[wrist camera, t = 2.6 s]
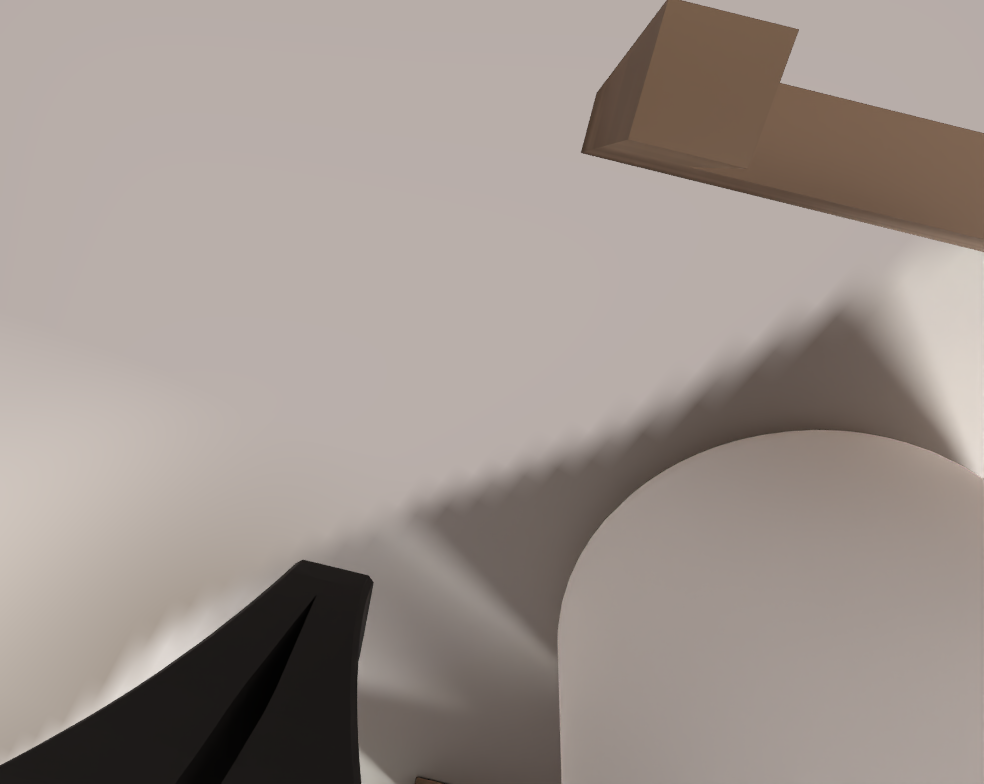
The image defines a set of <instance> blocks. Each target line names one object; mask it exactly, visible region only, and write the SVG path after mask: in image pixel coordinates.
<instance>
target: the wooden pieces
mask: <svg viewBox="0 0 984 784" xmlns="http://www.w3.org/2000/svg"><path fill="white" fill-rule="evenodd" d="M798 31H799V29H795V28H790V27H786V26H782V25H778V24H775V23H770V22H766V21H762V20H758V19H754V18H750V17H746V16H742V15H738V14H734V13H730V12H726V11H722V10H718V9H714V8H710V7H706V6H701V5H698V4H693V3H690V2H686V1H682V0H667V1H666V2H665V3H664V5H663V6H662V7H661V9H660V10H659V11H658V13H657V14H656V15H655V17H654V18H653V19H652V21H651V22H650V23H649V25H648V26H647V27H646V29H645V30H644V31H643V33H642V34H641V35H640V37H639V38H638V39H637V41H636V42H635V43H634V45H633V46H632V47H631V48H630V50H629V51H628V52H627V54H626V55H625V56H624V58H623V59H622V60H621V62H620V63H619V64H618V66H617V67H616V68H615V70H614V71H613V72H612V74H611V75H610V76H609V78H608V79H607V80H606V82H605V83H604V84H603V86H602V87H601V88H600V89H599V91H598V92H597V94H596V98H595V102H594V105H593V109H592V113H591V117H590V121H589V124H588V128H587V132H586V136H585V140H584V143H583V147H582V151H581V153H584V154H588V155H592V156H596V157H600V158H604V159H608V160H612V161H616V162H620V163H624V164H628V165H632V166H637V167H641V168H645V169H649V170H653V171H657V172H661V173H665V174H669V175H673V176H677V177H681V178H685V179H689V180H693V181H698V182H702V183H706V184H710V185H714V186H718V187H722V188H726V189H730V190H734V191H738V192H743V193H747V194H751V195H755V196H759V197H763V198H767V199H771V200H775V201H779V202H783V203H787V204H791V205H795V206H799V207H803V208H807V209H811V210H815V211H820V212H824V213H828V214H832V215H836V216H840V217H844V218H848V219H852V220H857V221H860V222H864V223H868V224H872V225H877V226H881V227H885V228H889V229H893V230H897V231H901V232H905V233H909V234H913V235H917V236H921V237H925V238H929V239H933V240H937V241H942V242H946V243H950V244H954V245H958V246H962V247H966V248H970V249H974V250H978V251H982V252H984V133H980V132H976V131H972V130H968V129H964V128H960V127H956V126H952V125H948V124H944V123H940V122H936V121H932V120H928V119H924V118H919V117H916V116H912V115H907V114H903V113H899V112H895V111H891V110H887V109H883V108H879V107H875V106H871V105H867V104H863V103H859V102H855V101H851V100H847V99H843V98H839V97H834V96H831V95H827V94H823V93H818V92H815V91H810V90H806V89H802V88H798V87H794V86H790V85H786V84H782V83H780V80H781V77H782V75H783V72H784V69H785V66H786V64H787V61H788V58H789V55H790V53H791V50H792V47H793V44H794V42H795V39H796V36H797V33H798ZM415 784H444V783H439V782H435V781H431V780H427V779H423V778H418V777H417V778H416V781H415Z"/></svg>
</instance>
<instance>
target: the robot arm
mask: <svg viewBox="0 0 984 784" xmlns="http://www.w3.org/2000/svg"><path fill="white" fill-rule="evenodd" d="M373 583H374V582H373V581H372V579H371V578H370V577H369V576H368V575H364V574H360V573H356V572H352V571H348V570H343V569H339V568H335V567H331V566H327V565H323V564H318V563H314V562H310V561H306V560H301V561H300V562H298V563H296V564H295V565H294V566H293V567H291V568H290V569H289V570H288V571H287V572H286V573H285V574H284V575H283V576H281V577H280V578H279V579H278V580H277V581H276V582H275V583H274V584H272V585H271V586H270V587H269V588H268V589H267V590H265V591H264V592H263V593H262V594H261V595H260V596H258V597H257V598H256V599H255V600H254V601H252V602H251V603H250V604H249V605H248V606H246V607H245V608H244V609H243V610H241V611H240V612H239V613H238V614H236V615H235V616H234V617H232V618H231V619H230V620H229V621H227V622H226V623H225V624H224V625H222V626H221V627H220V628H218V629H217V630H216V631H215V632H213V633H212V634H211V635H210V636H208V637H207V638H206V639H204V640H203V641H202V642H200V643H199V644H197V645H196V646H195V647H193V648H192V649H190V650H189V651H188V652H186V653H185V654H183V655H182V656H181V657H179V658H178V659H176V660H175V661H173V662H172V663H171V664H169V665H168V666H166V667H165V668H164V669H162V670H161V671H159V672H158V673H157V674H155V675H154V676H152V677H151V678H149V679H148V680H146V681H145V682H143V683H141V684H140V685H138V686H137V687H135V688H134V689H132V690H131V691H129V692H128V693H126V694H124V695H123V696H121V697H120V698H118V699H117V700H115V701H113V702H112V703H110V704H108V705H107V706H105V707H103V708H102V709H100V710H99V711H97V712H95V713H94V714H92V715H90V716H89V717H87V718H85V719H84V720H82V721H80V722H78V723H76V724H75V725H73V726H71V727H69V728H68V729H66V730H64V731H62V732H61V733H59V734H57V735H55V736H53V737H52V738H50V739H48V740H46V741H45V742H43V743H41V744H39V745H38V746H36V747H34V748H32V749H30V750H28V751H26V752H25V753H23V754H21V755H19V756H17V757H15V758H13V759H11V760H9V761H8V762H6V763H4V764H2V765H0V784H361V775H360V763H359V748H358V727H357V675H358V660H359V657H360V652H361V647H362V641H363V636H364V631H365V625H366V620H367V615H368V610H369V604H370V599H371V594H372V588H373Z"/></svg>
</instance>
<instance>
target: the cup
mask: <svg viewBox="0 0 984 784" xmlns="http://www.w3.org/2000/svg"><path fill="white" fill-rule="evenodd" d="M558 675H559V711H560V747H561V783H562V784H984V479H983V478H981V477H980V476H978V475H977V474H975V473H973V472H972V471H970V470H969V469H967V468H965V467H964V466H962V465H960V464H958V463H956V462H954V461H952V460H949V459H947V458H945V457H943V456H941V455H939V454H937V453H934V452H932V451H929V450H927V449H924V448H921V447H918V446H915V445H912V444H909V443H906V442H902V441H899V440H895V439H891V438H887V437H882V436H877V435H871V434H865V433H860V432H850V431H839V430H802V431H787V432H780V433H772V434H765V435H759V436H754V437H750V438H745V439H740V440H737V441H733V442H730V443H727V444H723V445H720V446H717V447H714V448H712V449H709V450H706V451H704V452H701V453H698V454H696V455H694V456H692V457H690V458H688V459H685V460H683V461H681V462H679V463H677V464H676V465H674V466H672V467H670V468H668V469H667V470H665V471H663V472H661V473H660V474H658V475H657V476H655V477H654V478H652V479H651V480H649V481H648V482H646V483H645V484H644V485H642V486H641V487H640V488H639V489H637V490H636V491H635V492H633V493H632V494H631V495H630V496H629V497H628V498H627V499H626V500H625V501H624V502H623V503H622V504H621V505H620V506H619V507H618V508H617V509H616V510H615V511H614V512H613V513H611V514H610V515H609V516H608V517H607V518H606V519H605V520H604V522H603V523H602V524H601V526H600V527H599V528H598V529H597V531H596V532H595V533H594V534H593V536H592V537H591V539H590V540H589V542H588V543H587V545H586V547H585V548H584V550H583V552H582V553H581V555H580V557H579V559H578V561H577V563H576V565H575V567H574V569H573V572H572V574H571V576H570V578H569V581H568V585H567V588H566V591H565V594H564V598H563V601H562V606H561V612H560V619H559V625H558Z"/></svg>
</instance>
